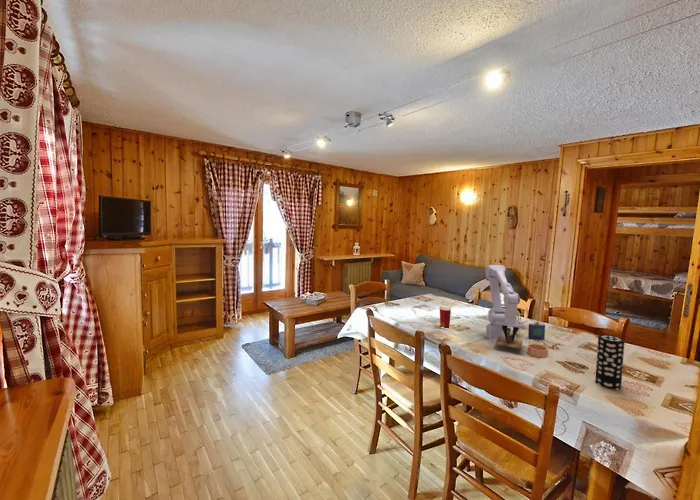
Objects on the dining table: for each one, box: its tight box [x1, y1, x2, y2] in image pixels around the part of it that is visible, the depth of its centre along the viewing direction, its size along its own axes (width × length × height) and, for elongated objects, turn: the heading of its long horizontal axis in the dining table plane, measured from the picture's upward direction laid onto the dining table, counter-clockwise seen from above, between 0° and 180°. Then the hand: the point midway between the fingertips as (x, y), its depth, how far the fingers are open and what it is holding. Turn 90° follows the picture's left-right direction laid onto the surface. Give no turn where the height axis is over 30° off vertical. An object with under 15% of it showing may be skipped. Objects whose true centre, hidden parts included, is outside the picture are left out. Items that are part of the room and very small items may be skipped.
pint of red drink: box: [438, 304, 452, 329], centre depth 198 cm, size 8×8×14 cm
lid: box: [495, 334, 524, 349], centre depth 164 cm, size 12×12×4 cm
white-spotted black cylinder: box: [594, 334, 625, 391], centre depth 127 cm, size 8×8×20 cm
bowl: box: [527, 343, 549, 359], centre depth 157 cm, size 9×9×4 cm
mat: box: [493, 343, 525, 357], centre depth 164 cm, size 14×14×1 cm
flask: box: [527, 321, 546, 341], centre depth 179 cm, size 9×3×11 cm, turn 88°
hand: (509, 340), depth 164 cm, fingers closed on lid, 2 cm apart
